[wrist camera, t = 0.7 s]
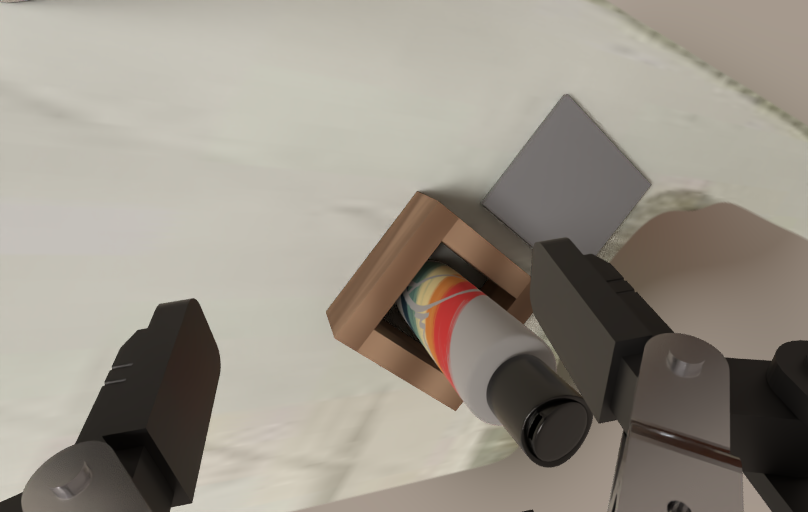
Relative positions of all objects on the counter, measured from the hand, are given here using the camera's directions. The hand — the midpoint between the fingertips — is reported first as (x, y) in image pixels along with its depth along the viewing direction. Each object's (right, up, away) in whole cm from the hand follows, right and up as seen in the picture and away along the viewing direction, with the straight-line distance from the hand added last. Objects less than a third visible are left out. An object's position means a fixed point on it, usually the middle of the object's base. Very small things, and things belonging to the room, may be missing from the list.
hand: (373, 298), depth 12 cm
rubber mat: (+15, +6, +30) cm, 34 cm away
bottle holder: (+3, -2, +29) cm, 29 cm away
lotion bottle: (+3, -2, +29) cm, 29 cm away
